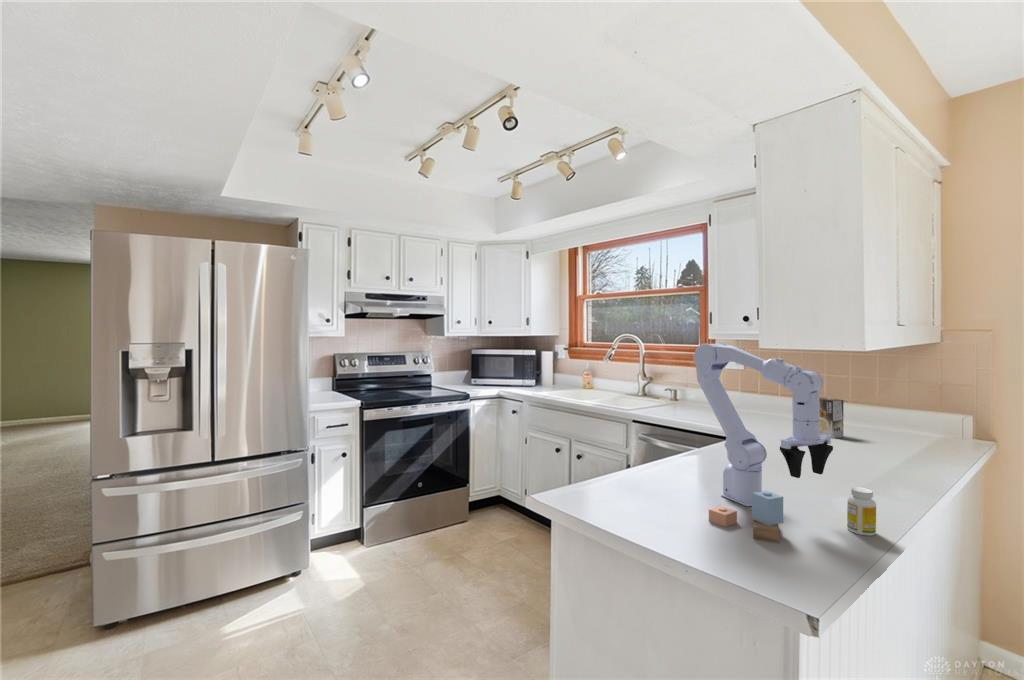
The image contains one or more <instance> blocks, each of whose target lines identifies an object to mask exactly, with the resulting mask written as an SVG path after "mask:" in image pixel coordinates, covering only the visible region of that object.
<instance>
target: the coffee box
mask: <svg viewBox="0 0 1024 680" xmlns="http://www.w3.org/2000/svg"><path fill="white" fill-rule="evenodd" d="M819 407H820V435H828V436H831V439H832V438H833V439H837V438H838V439H839V438H844V399H839V398H831V397H819Z"/></svg>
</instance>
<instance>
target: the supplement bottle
mask: <svg viewBox="0 0 1024 680" xmlns="http://www.w3.org/2000/svg"><path fill="white" fill-rule="evenodd" d="M850 491H851V492H850V494H851V496H848V498H847V510H846V511H847V513H846V515H847V517H846V523H847V524H846V525H847V526H846V528H847V530H848V531H850V532H851V533H853V534H857V535H860V536H875V535H876V532H877V503H876V501H875V500H874V499H873V497H874V491H873V490H872V489H871V488H870V489H869V488H866V487H860V486H859V487H858V486H855V487H851V490H850Z"/></svg>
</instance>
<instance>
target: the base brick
mask: <svg viewBox="0 0 1024 680" xmlns="http://www.w3.org/2000/svg"><path fill="white" fill-rule="evenodd" d="M752 521H753V525H752V530H753V531H752V532H753V533H752V539H754V540H759V541H766V542H771V543H776V544H777V543H778V544H779V543H780V529H779V527H780V526H779V524H776V525H771V526H767V525H765V524H763V523H760V522H758V521H756V520H753V519H752Z"/></svg>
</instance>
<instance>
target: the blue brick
mask: <svg viewBox="0 0 1024 680" xmlns="http://www.w3.org/2000/svg"><path fill="white" fill-rule="evenodd" d="M751 519H752V521H753V520H756V521H758V522H760V523H763V524H765V525H767V526H771V525H776V524H778V525H780V524H784V496H782V495H779V494H776V493H774V492H771V491H768V490H762V491H761V492H755V493H752V506H751Z"/></svg>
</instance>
